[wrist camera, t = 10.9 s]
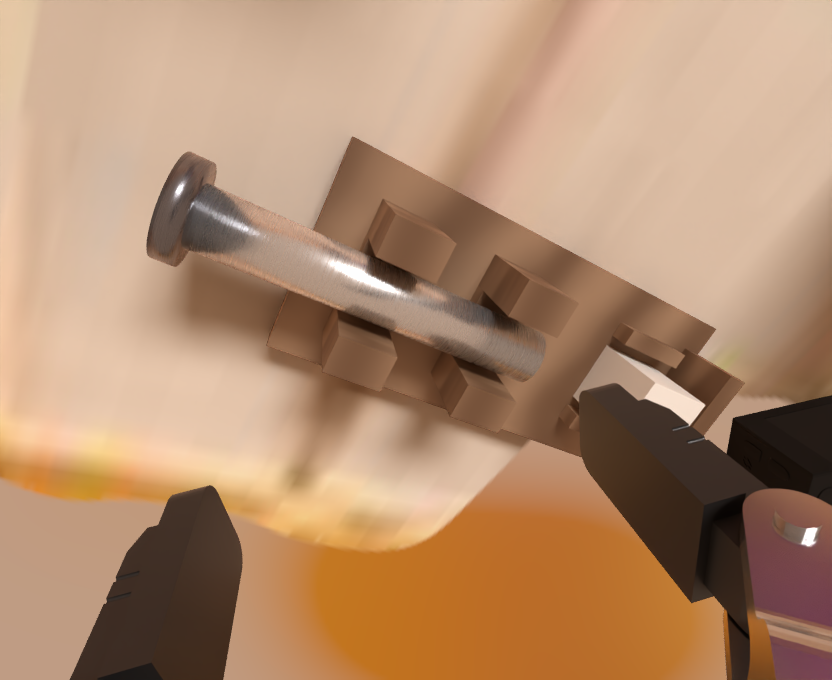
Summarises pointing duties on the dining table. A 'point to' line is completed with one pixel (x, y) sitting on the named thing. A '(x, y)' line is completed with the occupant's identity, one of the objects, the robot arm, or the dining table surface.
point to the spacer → (640, 383)
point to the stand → (495, 290)
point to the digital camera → (787, 447)
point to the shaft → (330, 272)
